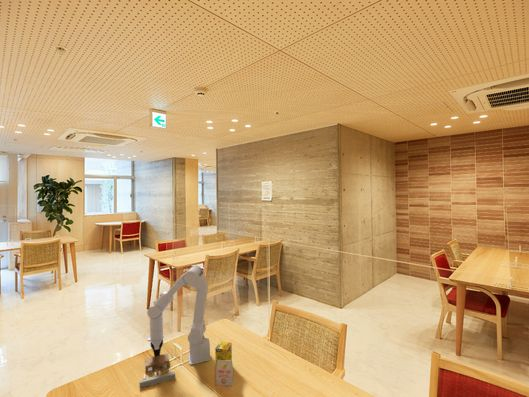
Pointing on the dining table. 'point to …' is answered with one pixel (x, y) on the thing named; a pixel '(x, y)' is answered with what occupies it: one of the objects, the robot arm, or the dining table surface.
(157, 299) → the robot arm
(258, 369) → the dining table surface
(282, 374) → the dining table surface
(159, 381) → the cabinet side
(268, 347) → the dining table surface
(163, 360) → the brown flat block
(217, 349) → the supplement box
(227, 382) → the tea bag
